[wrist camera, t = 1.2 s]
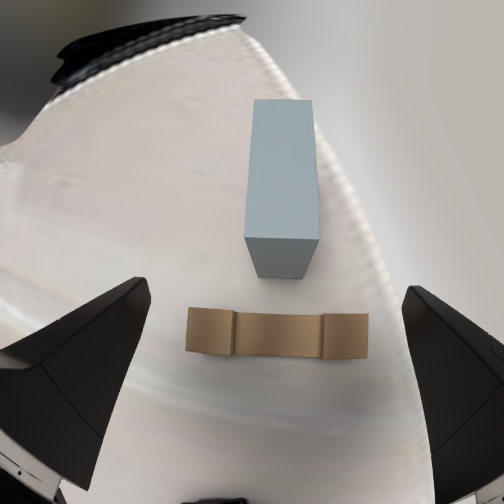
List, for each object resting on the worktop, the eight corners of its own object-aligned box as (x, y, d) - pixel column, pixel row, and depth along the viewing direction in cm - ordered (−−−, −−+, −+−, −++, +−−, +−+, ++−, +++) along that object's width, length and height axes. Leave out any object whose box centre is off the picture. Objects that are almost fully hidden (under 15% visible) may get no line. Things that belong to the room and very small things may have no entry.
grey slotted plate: (302, 278, 23) (319, 239, 13) (258, 277, 23) (244, 237, 13) (301, 179, 25) (311, 100, 16) (263, 178, 25) (254, 99, 16)
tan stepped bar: (353, 317, 22) (368, 313, 18) (352, 354, 21) (366, 358, 17) (203, 311, 23) (188, 307, 19) (200, 348, 22) (185, 351, 18)
